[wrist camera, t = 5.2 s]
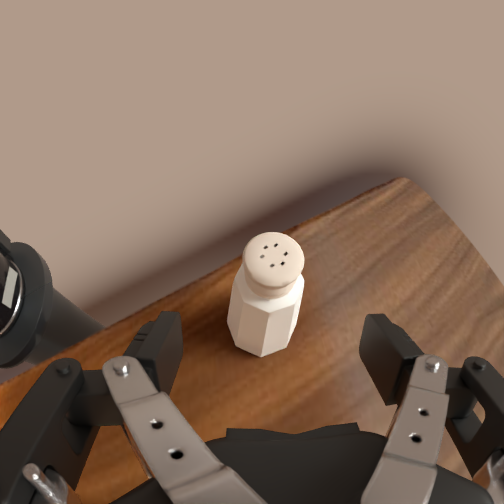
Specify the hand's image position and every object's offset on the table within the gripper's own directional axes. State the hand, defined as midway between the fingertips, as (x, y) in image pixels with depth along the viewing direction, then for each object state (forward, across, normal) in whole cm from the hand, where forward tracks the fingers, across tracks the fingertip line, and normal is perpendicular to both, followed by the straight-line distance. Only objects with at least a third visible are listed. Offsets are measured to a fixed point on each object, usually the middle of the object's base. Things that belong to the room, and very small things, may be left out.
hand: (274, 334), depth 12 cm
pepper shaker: (+10, 0, +5) cm, 11 cm away
